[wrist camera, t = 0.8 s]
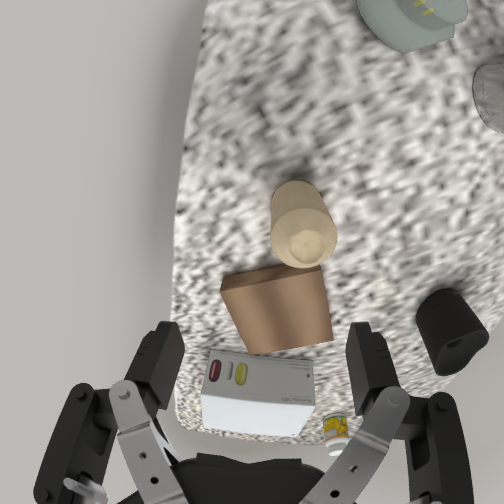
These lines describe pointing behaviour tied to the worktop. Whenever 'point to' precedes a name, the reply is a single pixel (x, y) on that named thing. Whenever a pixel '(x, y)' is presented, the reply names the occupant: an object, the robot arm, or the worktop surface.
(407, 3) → the air freshener
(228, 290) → the walnut pedestal
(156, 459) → the robot arm
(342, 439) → the supplement bottle
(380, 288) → the worktop surface
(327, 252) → the candle
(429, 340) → the pen holder
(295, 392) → the supplement box
